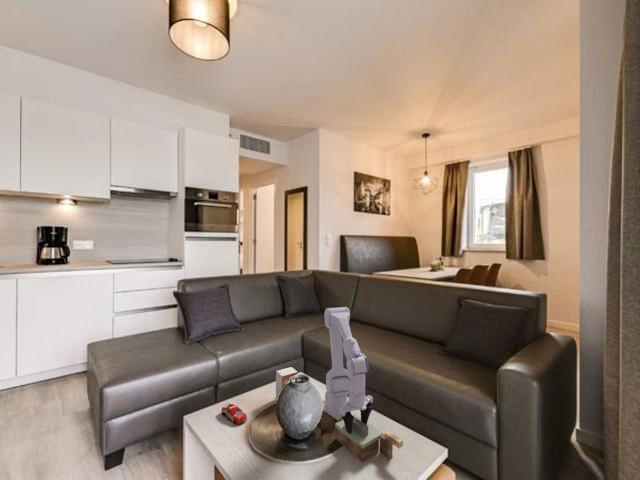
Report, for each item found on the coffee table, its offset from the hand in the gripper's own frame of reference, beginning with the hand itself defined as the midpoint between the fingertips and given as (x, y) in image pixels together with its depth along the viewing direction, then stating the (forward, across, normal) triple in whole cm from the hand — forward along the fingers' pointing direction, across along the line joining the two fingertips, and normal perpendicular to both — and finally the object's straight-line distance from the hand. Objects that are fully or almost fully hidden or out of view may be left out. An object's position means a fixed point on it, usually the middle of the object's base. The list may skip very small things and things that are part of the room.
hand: (356, 427), depth 108 cm
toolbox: (+6, +1, -2) cm, 7 cm away
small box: (+6, -5, +40) cm, 41 cm away
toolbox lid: (+3, 0, 0) cm, 3 cm away
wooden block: (0, +5, -13) cm, 13 cm away
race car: (+7, -29, +42) cm, 51 cm away
